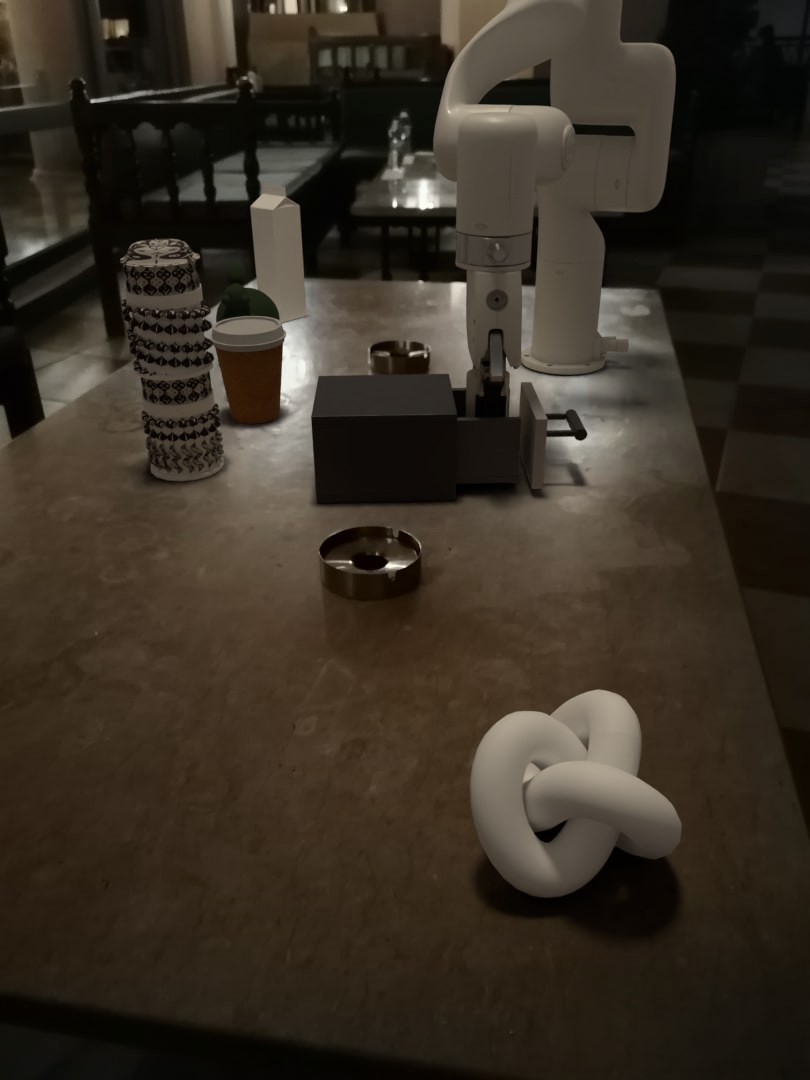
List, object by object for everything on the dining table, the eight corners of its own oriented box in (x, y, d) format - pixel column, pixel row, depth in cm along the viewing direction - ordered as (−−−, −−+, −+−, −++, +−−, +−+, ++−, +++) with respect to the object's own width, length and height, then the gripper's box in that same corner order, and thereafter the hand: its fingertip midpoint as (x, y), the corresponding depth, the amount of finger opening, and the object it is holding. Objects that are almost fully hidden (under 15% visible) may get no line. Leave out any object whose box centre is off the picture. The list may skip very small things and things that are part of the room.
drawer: (568, 445, 107) (574, 381, 103) (588, 487, 97) (595, 418, 93) (412, 448, 107) (411, 383, 103) (415, 491, 96) (415, 421, 93)
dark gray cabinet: (447, 453, 108) (448, 373, 103) (455, 500, 96) (457, 413, 92) (323, 455, 107) (318, 375, 103) (316, 503, 96) (311, 416, 91)
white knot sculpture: (529, 965, 48) (540, 844, 43) (427, 812, 57) (428, 700, 53) (697, 889, 52) (722, 771, 48) (576, 758, 62) (588, 651, 57)
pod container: (504, 418, 101) (507, 366, 98) (509, 433, 97) (512, 380, 94) (463, 419, 101) (464, 367, 98) (467, 434, 97) (468, 380, 94)
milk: (281, 323, 158) (270, 189, 148) (259, 317, 162) (247, 186, 151) (307, 316, 162) (298, 185, 152) (285, 310, 166) (275, 182, 155)
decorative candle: (130, 476, 103) (91, 248, 91) (175, 446, 110) (145, 232, 98) (200, 487, 100) (170, 254, 88) (241, 455, 107) (219, 237, 95)
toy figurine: (281, 408, 126) (283, 340, 147) (269, 272, 115) (273, 220, 136) (212, 411, 125) (224, 343, 146) (195, 275, 115) (210, 222, 135)
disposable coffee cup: (278, 431, 114) (271, 337, 108) (207, 426, 116) (196, 333, 110) (301, 405, 122) (295, 316, 117) (234, 400, 124) (225, 313, 118)
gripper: (544, 267, 83) (532, 451, 92) (519, 233, 98) (511, 394, 106) (462, 268, 83) (458, 452, 91) (450, 234, 98) (447, 395, 106)
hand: (487, 419), depth 99 cm, fingers closed on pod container, 4 cm apart
